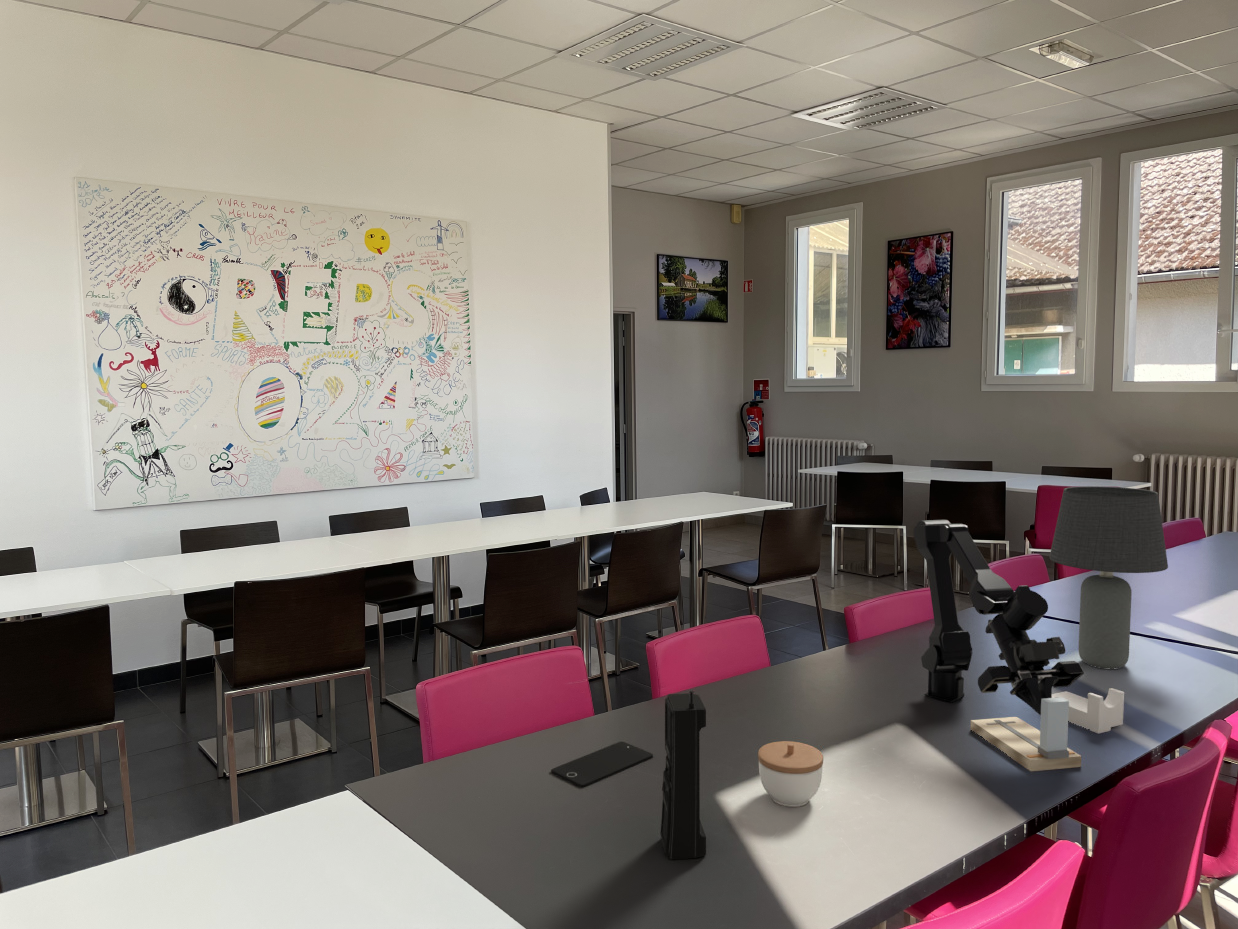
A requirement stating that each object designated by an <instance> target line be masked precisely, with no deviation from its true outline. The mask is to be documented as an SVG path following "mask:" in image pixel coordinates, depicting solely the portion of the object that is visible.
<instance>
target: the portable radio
mask: <svg viewBox="0 0 1238 929" xmlns="http://www.w3.org/2000/svg"><path fill="white" fill-rule="evenodd" d="M688 692H689V693H668V694H667V697H666V698H665V699H664V750H665V753H666V756H665V768H664V770H663V773H662V774H663V775H662V778H663V779H662V788H661V791H662V803H661V804H662V806H661V821H660V838H661V843H662V846H663V849H664V854H665V855H666V856H668V859H670V860H686V859H687V860H688V859H690V860H691V859H696V858H698V859H699V858H701V857H703V856H707V836H706V833H705V830H704V828H703V825H702V822H701V819H700V818H701V816H700V815H701V814H700V812H701V810H700V805H701V804H700V802H701V801H700V799H701V797H700V795H701V794H700V792H701V791H700V783H701V782H700V780H701V779H700V733H701V732H700V731H701V729H704V728H705V727H707V708H706V707H705V705H704V703H703V701H702V699H701V697H700V694H695V693H694V692H695V691H693V690H690V691H688Z"/></svg>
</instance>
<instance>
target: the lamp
mask: <svg viewBox="0 0 1238 929" xmlns="http://www.w3.org/2000/svg"><path fill="white" fill-rule="evenodd" d="M1062 491H1063V492H1062V497H1061V501H1060V506H1059V511H1058V514H1057V515H1058V516H1057V520H1056V525H1055V530H1054V534H1053V539H1052V544H1051V548H1050V553H1049V557H1048V558H1049V559H1050V561H1051V562H1053V563H1055V564H1058V565H1061V566H1062V565H1063V566H1065V567H1070V568H1075V569H1080V570H1087V571H1088V570H1089V571H1096V572H1099V574H1093V575H1088V576H1087V577H1086V578H1084V579H1083V581H1081V586H1080V596H1079V597H1080V601H1079V622H1078V623H1079V625H1078V627H1079V629H1078V654H1079V658H1080V659H1081V660H1082V662H1083V663H1085V664H1086V663H1087V664H1086V665H1088V664H1089V665H1088V666H1090V665H1092V666H1091V667H1093V666H1096V667H1095V668H1097V667H1100V668H1099V669H1103V668H1110V669H1109V670H1115V669H1114V668H1118V669H1121V668H1123V667H1124V666H1125V665H1126V664H1127V663H1128V661H1129V657H1130V638H1131V636H1130V635H1131V616H1132V615H1131V614H1132V613H1131V612H1132V594H1133V593H1132V588H1131V584H1130V583H1129V582H1128V581H1127V580H1125V579H1123V578H1122V577H1119V576H1115V575H1114V573H1119V574H1120V573H1121V574H1122V573H1123V574H1145V573H1146V574H1149V573H1157V572H1163V571H1166V570H1167V569H1168V568H1169V564H1168V558H1167V556H1168V555H1167V551H1166V550H1167V549H1166V543H1165V542H1166V540H1165V535H1164V533H1165V532H1164V528H1163V521H1162V512H1161V505H1160V498H1159V492H1157V491H1154V490H1149V489H1143V488H1142V489H1141V488H1134V487H1119V486H1118V487H1117V486H1098V485H1097V486H1096V485H1095V486H1090V485H1089V486H1087V485H1086V486H1070V487H1066V488H1063V490H1062Z"/></svg>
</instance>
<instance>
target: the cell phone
mask: <svg viewBox="0 0 1238 929" xmlns="http://www.w3.org/2000/svg"><path fill="white" fill-rule="evenodd" d="M653 758H654V754H653V753H652V752H650V751H647V750H644V749H642V748H640V747H637V746H635V745H633V744H630V743H628V742H626V741H618V742H616V743H613V744H610V745H608V746H606V747H604V748H601V749H598V750H596V751H594V752H590V753H588V754H586V755H583V756H581V757H578V758H576V759H573V760H571V761H568V762H566V763H564V764H561V765H558V766H556V767H553V768H552V769H551V770H550V773H551V774H552V775H555V776H556V777H558V778H560V779H562V780H565V781H567V782H569V783H570V784H573V785H574V786H577V787H579V788H580V789H584V788H588V787H589V786H592V785H593V784H596V783H598V782H600V781H603V780H606V779H607V778H610V777H612V776H615V775H616V774H618V773H622V772H623V771H625V770H628V769H630V768H633V767H635V766H637V765H640V764H641V763H644V762H647V761H649V760H651V759H653Z"/></svg>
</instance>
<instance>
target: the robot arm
mask: <svg viewBox="0 0 1238 929" xmlns="http://www.w3.org/2000/svg"><path fill="white" fill-rule="evenodd" d="M912 533H913V534H912V535H913V538H914V541H915V544H916V549H917V550H918V552H919V553H920V554H921V556H922V557H923V559H925V562H926V567H927V578H928V583H929V584H928V585H929V590H930V599H931V606H932V615H933V620H934V626H933V629H932V631H931V632H930V635H929V637H928V642H929V643H928V648H927V649H926V650H925V652H924V653H923V655H921V658H920V659H921V665H922V666H921V667H923V668H924V669H925V670H927V671H928V673H927V674H928V675H927V691H925V692H924V694H923V695H924V696H925V697H929V698H933V699H937V700H941V701H943V702H947V703H948V702H949V703H953V702H956V701H958V700H959V699H961V698H963V697H964V696H965V692H964V682H965V681H964V677H963V676H962V672H963V671H969V669H970V665H971V661H972V658H973V647H972V643H971V635H970V633H969V631H968V630H967V631H965V630H964V629H963V627H961V625H960V623H959V619H958V618H959V617H958V612H957V604H956V597H955V590H954V583H953V575H952V568H951V563H950V562H951V561H950V559H951V556H952V555H953V557H954V558H955V560H956V562H957V564H958V565H959V567H960V569H961V571H962V573H963V574H964V576H965V577H966V580H967V581H968V584H969V585H970V586H969V592H968V595H969V597H970V600H971V602H972V607H974V609H975V611H976V612H977V613H978V614H979V615H984V616H987V615H990V616H991V615H995V616H994V617H993V618H992V619H988V621H987V625H986V627H985V634H993V636H994V638H995V641H996V643H997V645H998V648H999V650H1000V653H999V655H998V658H999V660H1000V661H1005V663H1006V665H995V666H994V665H993V666H988V667H987V668H986V669H985V670H984V671H983V672H982V674H981V675H980V676H979V677H978V679H977V685H978V688H979V691H980V693H981V694H987V693H988V694H990V693H996V692H997V690H998V688H999V684H1001V685H1002V684H1011V687H1012V689H1011V690H1010V691H1009V693H1010V695H1012V696H1016V697H1017V698H1018V699H1020V700H1021V701H1023V702H1024V703H1025V704H1026V705H1028V706H1029V707H1030V708H1031V709H1032V710H1033V711H1034V712H1036V713H1037V714H1038V715H1039V716H1040V717H1041V699H1045V698H1052V694H1053V693H1052V692H1053V691H1052V690H1053V688H1057V689H1058V688H1066V687H1070V686H1072V685H1073V684H1074V683H1075V682H1076V681H1077V680H1079V679H1080V677H1082V676H1083V675H1085V671H1084V670H1083V667H1082V665H1081V664H1080V662H1078V661H1075V660H1069V661H1068V660H1066V661H1058V662H1057V663H1056V664H1054V665H1053V666H1052V667H1051V669H1050V668H1049V669H1047V668H1046V669H1045V668H1044V667H1047V666H1048V665H1050V660H1059V659H1060V655H1064V654H1066V646H1065V643H1064V642H1063V640H1062V638H1061V637H1060V636H1051V637H1047V638H1046V641H1039V642H1038V641H1037V640H1036V639H1030V637H1029V634H1028V632H1027V631H1030V630H1031V629H1033V628H1034V626H1035V625H1036V624H1038V622H1039V621H1040V620H1041V619H1042V618H1043V617H1044V616H1045V615H1046V614H1047V613H1048V610H1049V604H1048V602H1047V601H1048V600H1046V598H1044V597H1043V596H1042V595H1041V594H1039V593H1038V592H1037V591H1034V590H1031V588H1030V586H1029V585H1018V586H1017V587H1016V588H1015V590H1014V589H1013V588H1012V586H1011V585H1010V584H1009V582H1007V580H1005V578H1004V577H1002V576H1000V575H999V574H996V573H995V572H994V571H993V570H992V569H991V568H990V566H989V563H987V560H986V559H985V558H984V556H983V553H982V552H981V551H980V549H979V548H978V545H976V543H975V541H974V540H973V537H972V536H971V534H970V529H969V527H968V525H966V524H963V523H951V522H950V521H949V520H948V519H933V520H932V519H931V520H930V519H929V520H926V519H925V520H919V521H917V524H916V525H915V526H914V527H913V530H912Z"/></svg>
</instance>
